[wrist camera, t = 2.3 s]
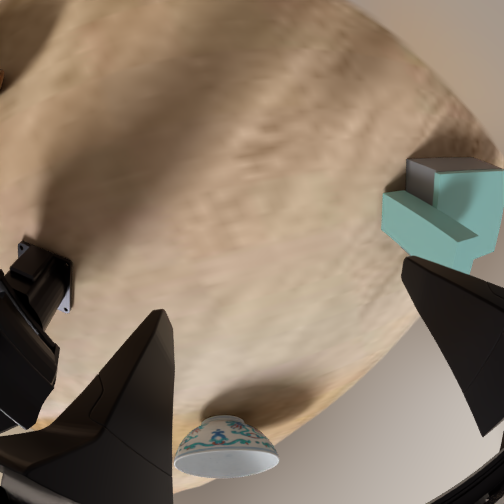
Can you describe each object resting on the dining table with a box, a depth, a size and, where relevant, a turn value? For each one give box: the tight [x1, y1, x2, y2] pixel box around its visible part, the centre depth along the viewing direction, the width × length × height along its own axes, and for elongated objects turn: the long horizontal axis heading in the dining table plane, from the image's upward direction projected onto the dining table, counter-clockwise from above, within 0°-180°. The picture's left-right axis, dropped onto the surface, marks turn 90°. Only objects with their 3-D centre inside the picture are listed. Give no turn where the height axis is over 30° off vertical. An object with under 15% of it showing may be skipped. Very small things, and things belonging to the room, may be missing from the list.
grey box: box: [401, 157, 502, 256], centre depth 21 cm, size 10×9×4 cm
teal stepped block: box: [381, 169, 504, 275], centre depth 19 cm, size 14×9×10 cm, turn 98°
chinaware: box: [174, 415, 279, 478], centre depth 34 cm, size 15×15×8 cm
